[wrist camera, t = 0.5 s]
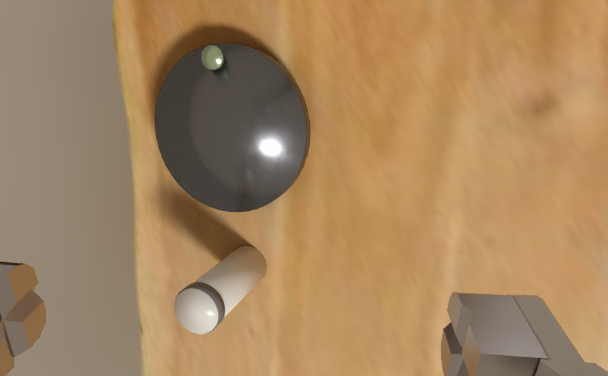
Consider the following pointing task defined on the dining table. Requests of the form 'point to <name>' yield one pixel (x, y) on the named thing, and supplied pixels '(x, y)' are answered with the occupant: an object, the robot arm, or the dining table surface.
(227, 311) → the white lidded container
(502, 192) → the dining table surface
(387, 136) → the dining table surface
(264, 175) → the base
